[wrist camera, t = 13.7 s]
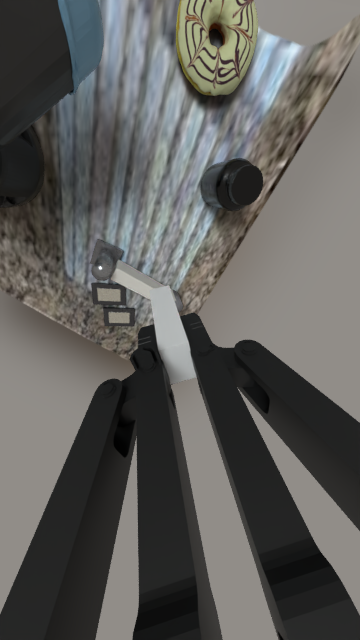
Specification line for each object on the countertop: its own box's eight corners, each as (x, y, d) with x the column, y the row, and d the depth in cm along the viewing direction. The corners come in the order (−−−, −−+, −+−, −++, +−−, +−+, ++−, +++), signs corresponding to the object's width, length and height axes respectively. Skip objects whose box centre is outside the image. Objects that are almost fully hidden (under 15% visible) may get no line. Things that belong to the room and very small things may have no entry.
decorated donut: (236, 107, 32) (247, 100, 29) (170, 91, 30) (175, 81, 27) (257, -5, 26) (274, -29, 23) (178, -36, 24) (184, -67, 21)
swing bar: (112, 270, 40) (109, 280, 36) (119, 258, 39) (117, 266, 35) (173, 303, 48) (177, 315, 44) (181, 294, 46) (185, 304, 42)
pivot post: (90, 261, 41) (81, 279, 33) (98, 238, 38) (89, 251, 31) (115, 271, 43) (111, 290, 35) (123, 250, 41) (121, 264, 33)
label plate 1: (93, 302, 46) (93, 304, 45) (91, 282, 43) (91, 283, 42) (125, 303, 47) (125, 305, 47) (125, 284, 45) (125, 285, 44)
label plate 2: (104, 324, 49) (104, 326, 49) (103, 307, 47) (103, 308, 46) (133, 324, 51) (133, 326, 51) (134, 308, 48) (134, 309, 48)
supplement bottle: (228, 210, 40) (258, 218, 30) (196, 202, 38) (217, 209, 29) (240, 168, 36) (278, 162, 27) (205, 157, 35) (233, 148, 25)
